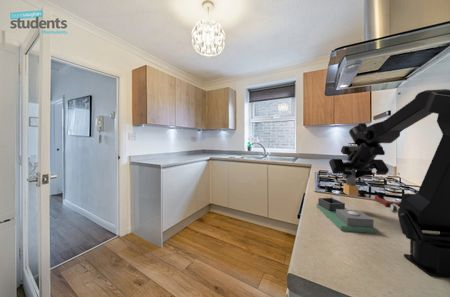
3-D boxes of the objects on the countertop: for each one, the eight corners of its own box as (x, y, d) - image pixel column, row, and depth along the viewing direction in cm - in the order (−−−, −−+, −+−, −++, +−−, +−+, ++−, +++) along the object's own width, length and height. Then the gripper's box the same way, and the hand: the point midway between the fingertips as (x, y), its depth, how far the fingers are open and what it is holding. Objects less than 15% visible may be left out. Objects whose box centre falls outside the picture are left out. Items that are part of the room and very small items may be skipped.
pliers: (378, 211, 71) (378, 205, 71) (374, 199, 87) (374, 194, 87) (418, 218, 64) (418, 212, 64) (406, 204, 80) (406, 198, 80)
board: (375, 233, 53) (375, 228, 53) (340, 230, 55) (341, 225, 54) (340, 208, 74) (341, 204, 74) (316, 206, 75) (316, 203, 75)
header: (344, 210, 67) (344, 203, 67) (330, 211, 66) (330, 204, 66) (331, 204, 74) (331, 197, 74) (318, 204, 73) (318, 198, 73)
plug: (358, 195, 69) (358, 166, 69) (348, 195, 70) (349, 166, 69) (352, 192, 73) (352, 165, 73) (343, 192, 74) (343, 165, 74)
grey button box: (373, 227, 54) (373, 218, 53) (347, 225, 55) (347, 216, 55) (358, 217, 61) (358, 209, 61) (335, 215, 62) (335, 208, 62)
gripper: (383, 139, 65) (365, 164, 76) (331, 139, 69) (321, 163, 80) (400, 161, 58) (377, 185, 69) (340, 160, 61) (327, 183, 72)
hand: (349, 178), depth 73 cm, fingers closed on plug, 3 cm apart
